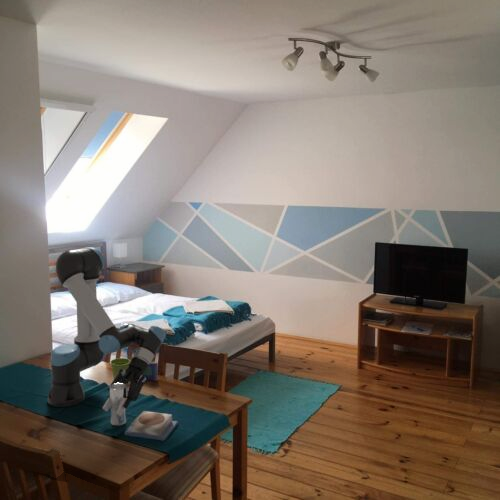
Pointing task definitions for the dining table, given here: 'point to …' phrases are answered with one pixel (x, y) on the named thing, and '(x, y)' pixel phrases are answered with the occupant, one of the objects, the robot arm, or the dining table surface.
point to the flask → (151, 372)
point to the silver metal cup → (117, 402)
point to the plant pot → (119, 365)
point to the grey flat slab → (150, 436)
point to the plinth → (151, 423)
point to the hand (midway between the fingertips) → (111, 412)
